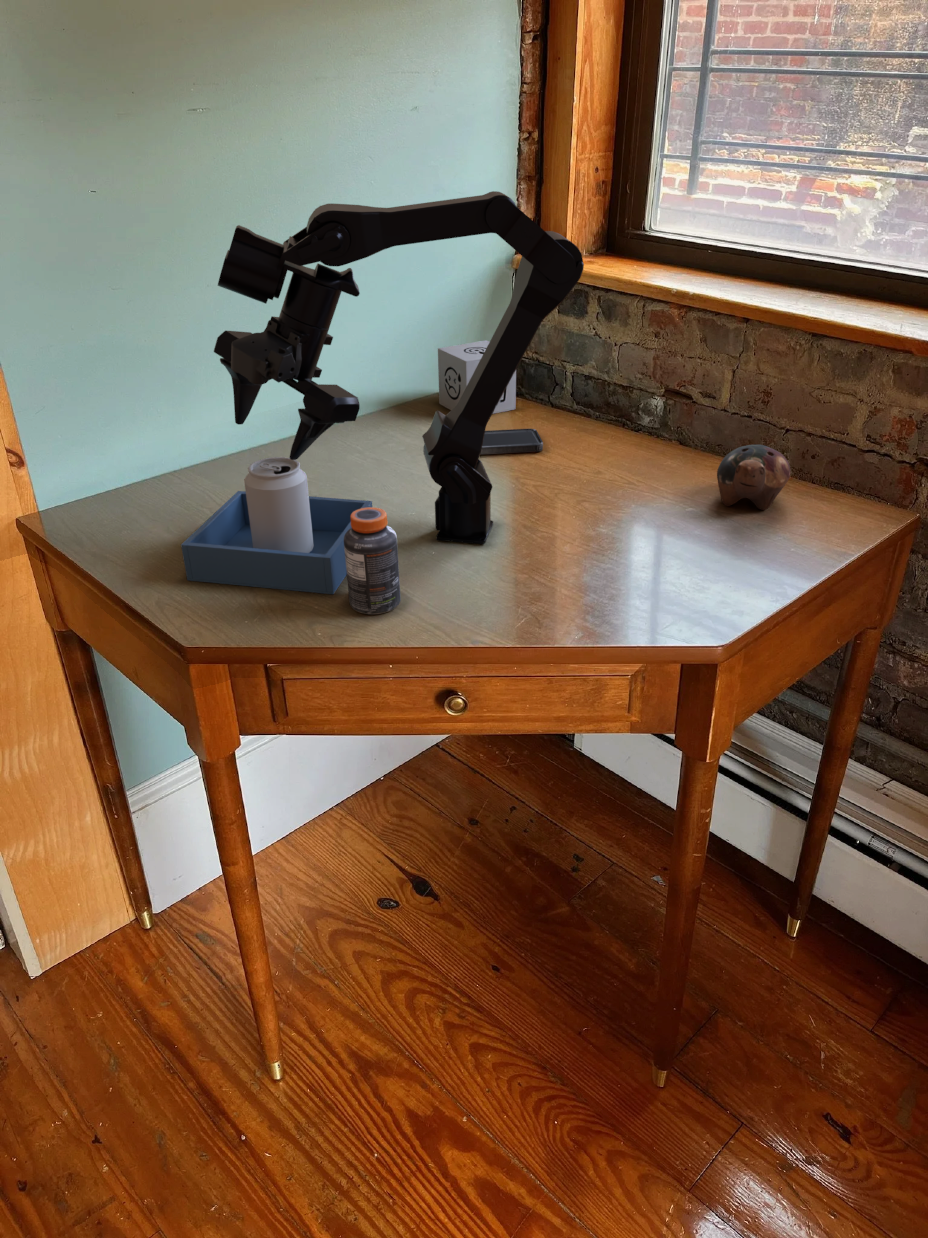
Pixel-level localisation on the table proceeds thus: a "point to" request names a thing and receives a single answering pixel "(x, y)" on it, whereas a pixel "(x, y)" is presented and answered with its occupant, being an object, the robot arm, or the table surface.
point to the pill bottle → (372, 562)
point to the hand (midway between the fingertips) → (265, 441)
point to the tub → (232, 559)
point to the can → (279, 505)
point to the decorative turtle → (752, 475)
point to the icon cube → (466, 375)
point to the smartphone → (511, 441)
